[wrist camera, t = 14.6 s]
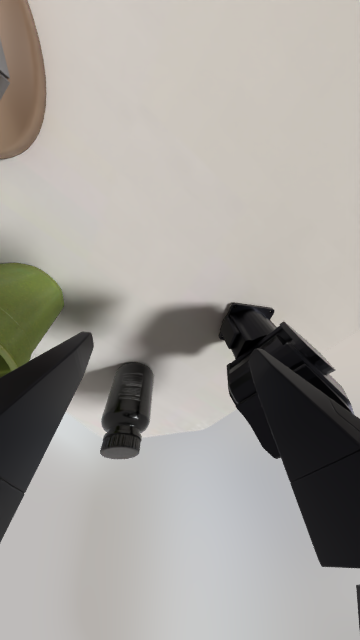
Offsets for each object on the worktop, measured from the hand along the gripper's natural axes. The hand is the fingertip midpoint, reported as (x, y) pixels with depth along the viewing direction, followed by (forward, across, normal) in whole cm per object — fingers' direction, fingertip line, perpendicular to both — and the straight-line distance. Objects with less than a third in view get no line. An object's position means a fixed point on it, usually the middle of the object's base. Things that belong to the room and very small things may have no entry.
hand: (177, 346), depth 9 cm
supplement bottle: (+13, +4, +20) cm, 24 cm away
